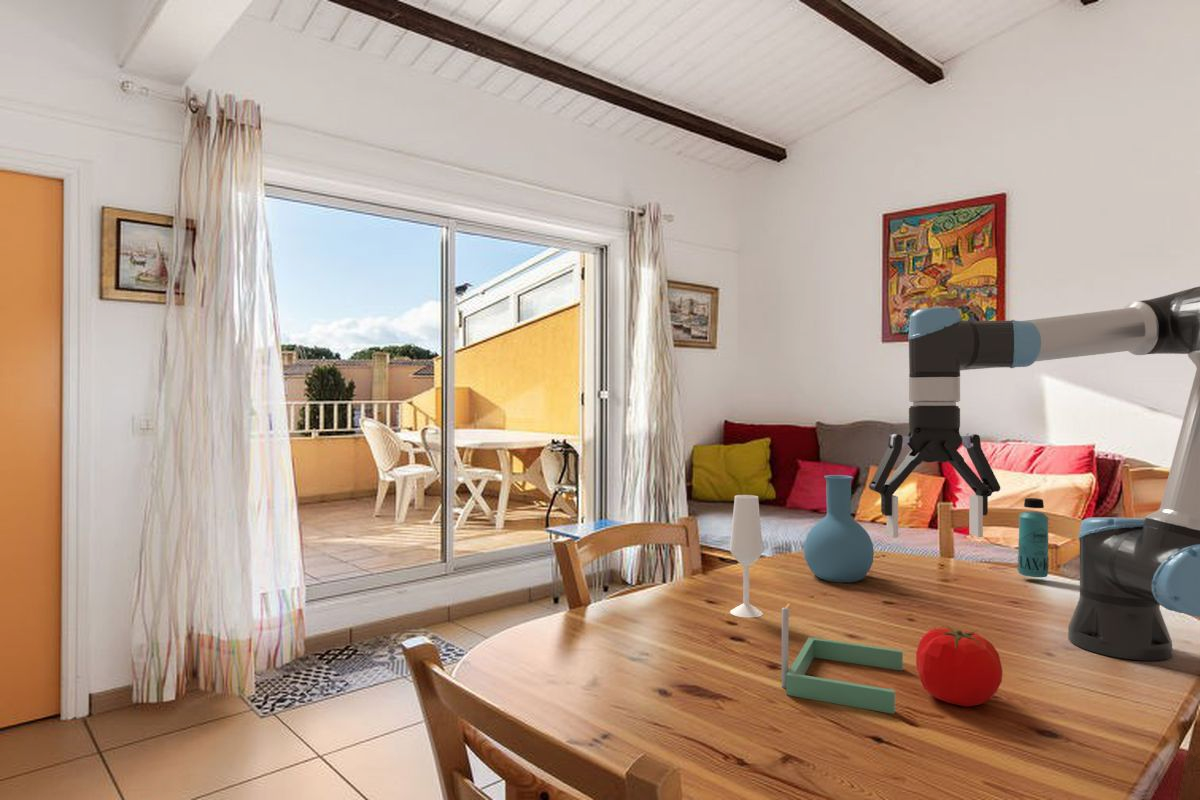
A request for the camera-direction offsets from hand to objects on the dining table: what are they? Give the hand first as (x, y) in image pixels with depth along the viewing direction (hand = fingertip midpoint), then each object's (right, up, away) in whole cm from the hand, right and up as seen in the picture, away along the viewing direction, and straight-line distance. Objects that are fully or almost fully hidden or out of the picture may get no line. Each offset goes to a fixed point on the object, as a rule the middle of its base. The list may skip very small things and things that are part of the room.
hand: (934, 536), depth 118 cm
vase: (+5, -22, +62) cm, 66 cm away
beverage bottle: (+51, -22, +60) cm, 82 cm away
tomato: (-1, -22, -10) cm, 25 cm away
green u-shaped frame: (-16, -22, -3) cm, 27 cm away
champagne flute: (-24, -22, +33) cm, 46 cm away
